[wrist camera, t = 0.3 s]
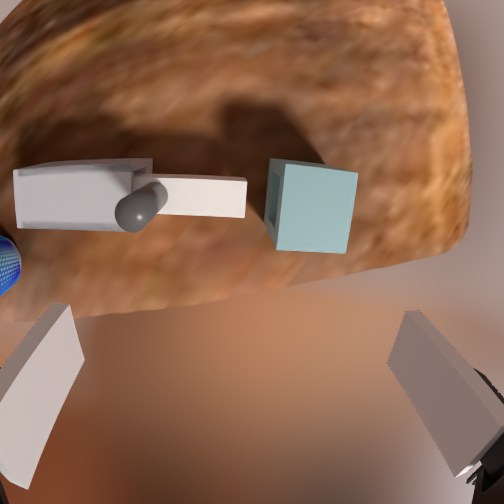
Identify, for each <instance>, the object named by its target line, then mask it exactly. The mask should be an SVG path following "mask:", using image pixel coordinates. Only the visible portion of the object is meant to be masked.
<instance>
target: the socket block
mask: <svg viewBox="0 0 504 504" xmlns="http://www.w3.org/2000/svg"><path fill="white" fill-rule="evenodd" d="M357 179H358V173H356V172H353V171H349V170H345V169H342V168H338V167H334V166H330V165H326V164H320V163H312V162H303V161H295V160H285V159H275V158H270V161H269V172H268V183H267V194H266V204H265V215H264V224H265V226H266V228H267V230H268V233H269V235H270V237H271V239H272V241H273V244H274V246H275V248H276V250H288V251H308V252H327V253H346V248H347V242H348V237H349V231H350V225H351V219H352V213H353V207H354V200H355V193H356V186H357Z"/></svg>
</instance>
